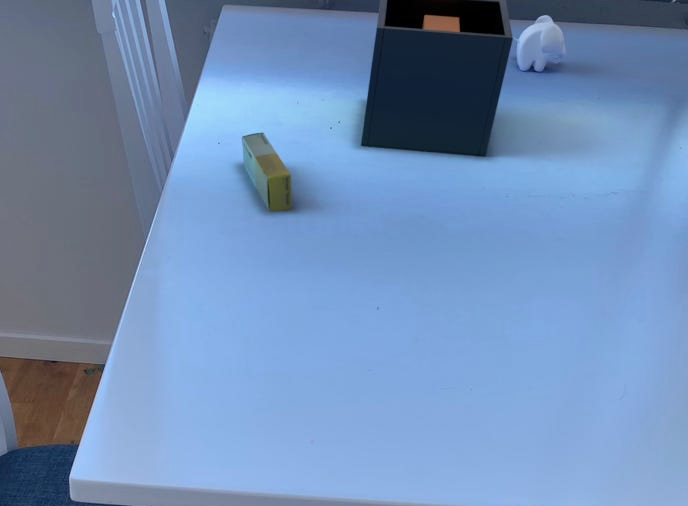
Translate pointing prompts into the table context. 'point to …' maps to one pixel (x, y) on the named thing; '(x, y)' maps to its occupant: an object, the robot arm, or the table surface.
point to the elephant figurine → (540, 44)
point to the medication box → (267, 172)
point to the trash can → (436, 76)
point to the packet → (441, 23)
